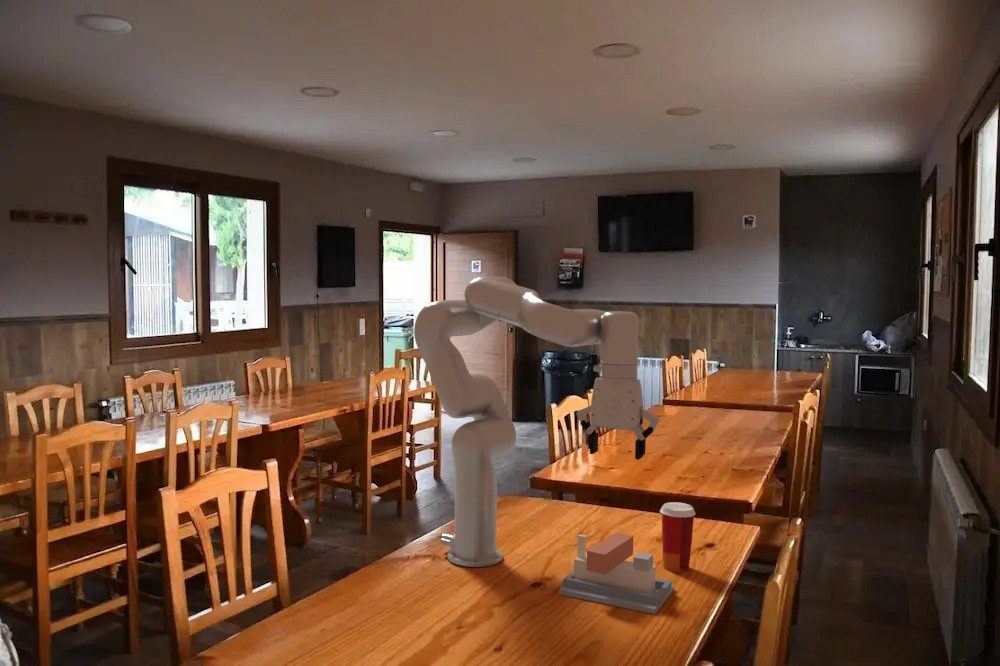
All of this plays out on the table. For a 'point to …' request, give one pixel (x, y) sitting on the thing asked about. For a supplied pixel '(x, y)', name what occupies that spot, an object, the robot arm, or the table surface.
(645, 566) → the white notched block
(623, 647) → the table surface
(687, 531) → the paper cup
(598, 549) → the block
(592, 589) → the tray
